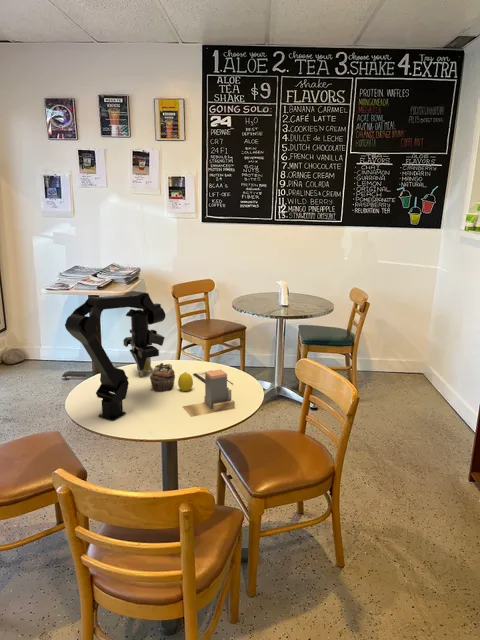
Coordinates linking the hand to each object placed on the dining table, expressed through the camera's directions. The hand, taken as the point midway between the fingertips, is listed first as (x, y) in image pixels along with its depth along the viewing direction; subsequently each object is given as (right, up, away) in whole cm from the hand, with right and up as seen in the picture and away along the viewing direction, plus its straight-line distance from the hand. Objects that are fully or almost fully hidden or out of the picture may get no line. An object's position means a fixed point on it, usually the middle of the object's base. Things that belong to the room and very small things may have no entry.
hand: (141, 369), depth 166 cm
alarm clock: (-5, -5, +31) cm, 32 cm away
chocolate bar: (+24, -7, +25) cm, 35 cm away
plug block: (+27, -12, -2) cm, 29 cm away
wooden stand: (+24, -14, -3) cm, 28 cm away
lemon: (+14, -10, +12) cm, 21 cm away
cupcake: (+5, -9, +15) cm, 18 cm away
